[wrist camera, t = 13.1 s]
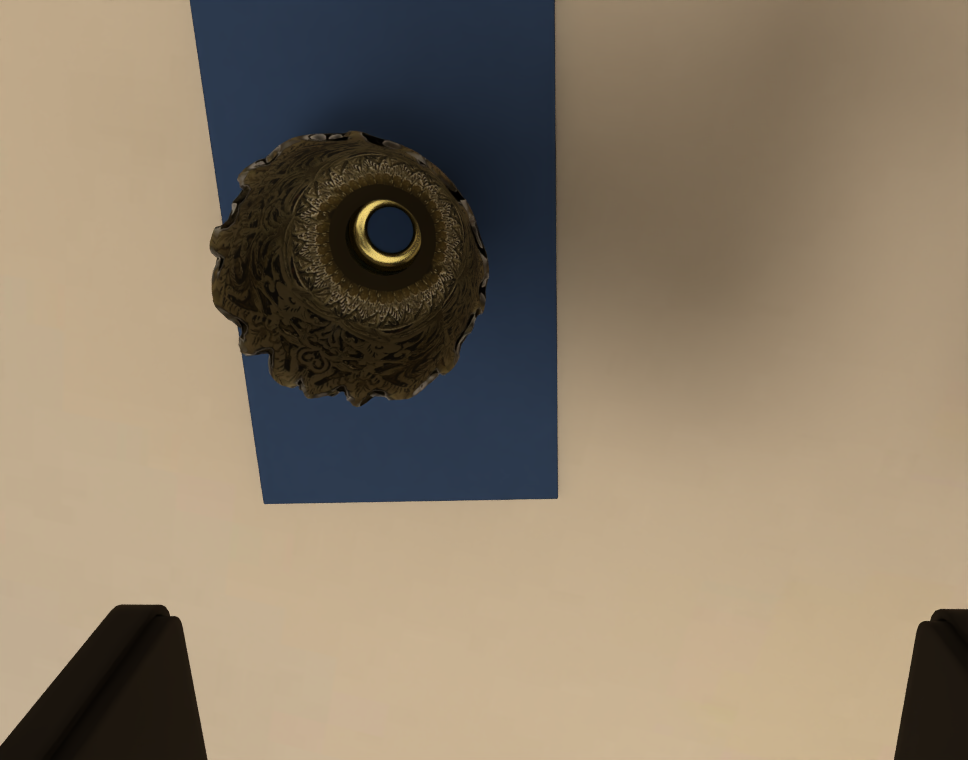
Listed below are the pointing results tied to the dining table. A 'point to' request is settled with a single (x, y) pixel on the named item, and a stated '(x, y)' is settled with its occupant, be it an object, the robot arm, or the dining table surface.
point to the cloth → (409, 228)
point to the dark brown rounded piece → (349, 268)
